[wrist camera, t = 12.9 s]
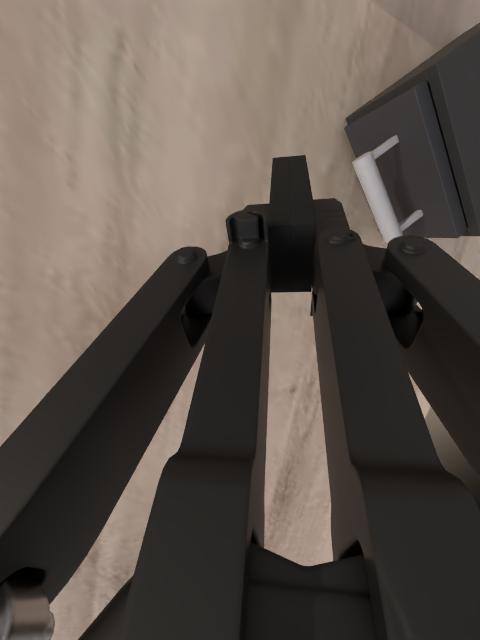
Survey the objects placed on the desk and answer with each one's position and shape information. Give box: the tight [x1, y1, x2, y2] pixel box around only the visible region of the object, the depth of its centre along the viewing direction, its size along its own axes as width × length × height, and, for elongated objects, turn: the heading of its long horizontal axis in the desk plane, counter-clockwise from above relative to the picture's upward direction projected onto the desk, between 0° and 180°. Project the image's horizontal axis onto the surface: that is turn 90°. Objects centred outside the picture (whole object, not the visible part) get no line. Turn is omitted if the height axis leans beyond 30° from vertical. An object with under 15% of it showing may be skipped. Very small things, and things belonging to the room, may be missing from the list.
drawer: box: [345, 80, 468, 243], centre depth 27 cm, size 19×13×8 cm, turn 124°
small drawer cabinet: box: [346, 23, 480, 236], centre depth 28 cm, size 16×14×10 cm
